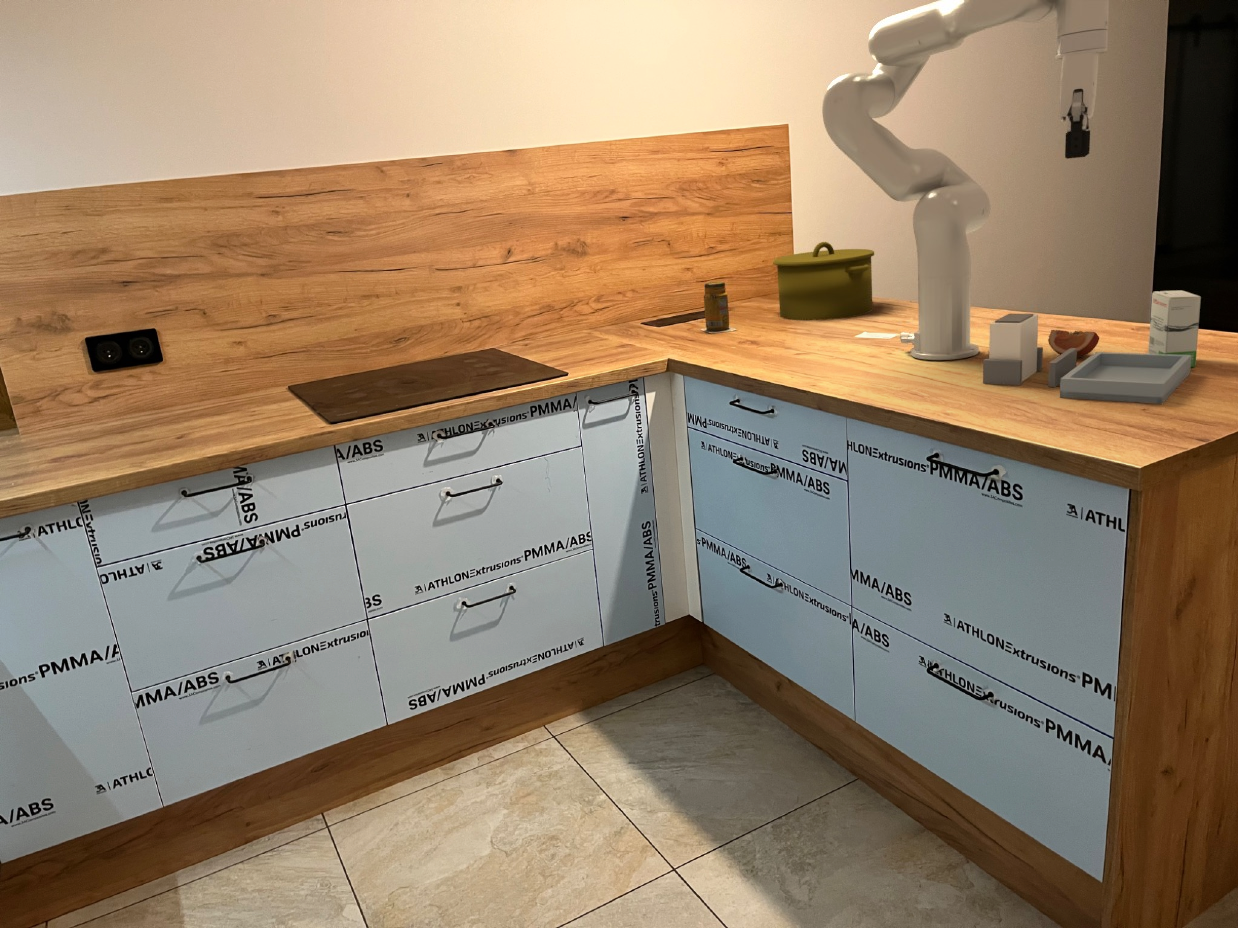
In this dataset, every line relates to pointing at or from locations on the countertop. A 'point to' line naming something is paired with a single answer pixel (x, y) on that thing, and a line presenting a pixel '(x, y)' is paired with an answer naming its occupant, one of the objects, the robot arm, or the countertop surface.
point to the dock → (1012, 369)
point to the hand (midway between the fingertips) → (1077, 156)
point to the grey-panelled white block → (1015, 340)
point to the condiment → (716, 308)
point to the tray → (1126, 377)
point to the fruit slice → (1073, 341)
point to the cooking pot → (825, 283)
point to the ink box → (1174, 323)
